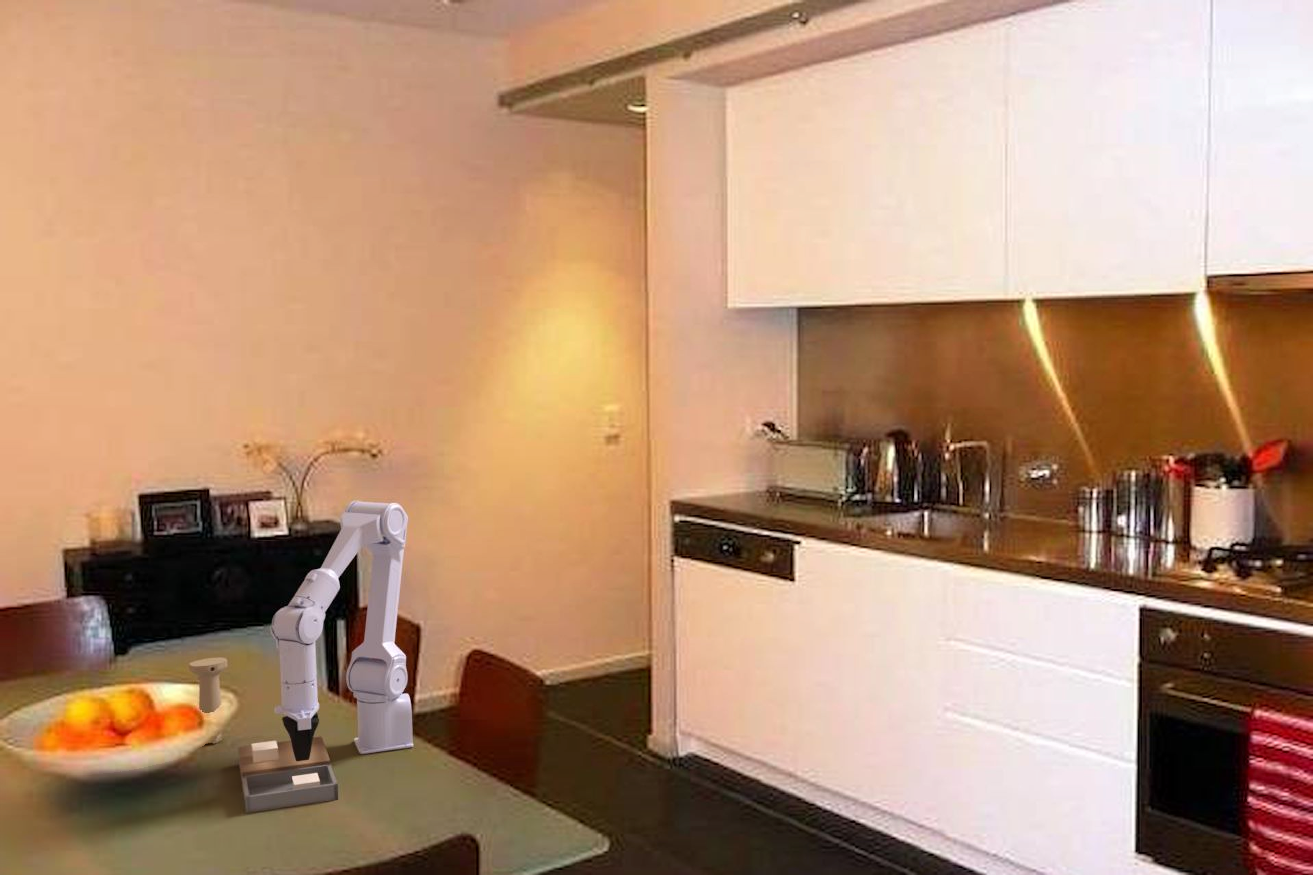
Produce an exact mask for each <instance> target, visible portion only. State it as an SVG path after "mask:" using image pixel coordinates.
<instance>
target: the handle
mask: <svg viewBox="0 0 1313 875" xmlns="http://www.w3.org/2000/svg"><path fill="white" fill-rule="evenodd" d="M188 665H189V666H188V667H189V671H190V672H191V673H193V674H195V675H197V676H198V680H199V682H198V684H199V689H198V690H199V692H198V694H199V695H198V696H199V697H198V698H199V700H198V710H199V709H200V710H202V712H204V713H210V712H214V711H215V710H216V709H217V708H219V706H220V705H221V703H222V696H221V686H220V673H221V672H223V671H224V670H225V669H226V668H227V667H228V659H227V658H226V657H209V658H203V659H199V660H194V661H192V662H189V664H188ZM222 731H223V730H222ZM222 731H221V732H220V733H219V734H218V736H217V738H215V740H213V743H214V742H215V743H216V744H217V743H220V742H221V741H222V738H223V734H222Z"/></svg>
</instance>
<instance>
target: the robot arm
mask: <svg viewBox="0 0 1313 875" xmlns="http://www.w3.org/2000/svg"><path fill="white" fill-rule="evenodd" d="M344 509H345V510H344V512H343V514H341V516H340V519H339V520H340V521H339V522H340V523H339V524H340V528H341V529H340V531H339V533H338V534H337V536H336V539H335V540H334V542H333V544H332V546H331V548H330V550H329V551H328V554H327V556H326V557H325V558H324V561H323V563H322V565H321V567H320V568H317V569H312V570H310V571H309V572H307V575H306V576H305V578H304V581H303V582H302V583H301V585H300V586H299V587H298V589H297V591H296V592H295V594H294V596H293V597H292V598H291V600H290V601H289V603H288V605H287V606H284V607H281V608H280V609H278V611H276V612H275V614H274V615H273V617H272V620H271V626H269V630H270V631H269V632H270V635H271V636H272V638H273V639H274V640H275V645H276V647H275V649H276V650H277V651H278V652H279V667H280V668H279V669H280V673H279V674H280V691H281V692H280V694H281V705H275V706H274V708H273V709H274V714H279V715H280V714H283V715H284V716H282V718H281V720H282V723H283V727H284V729H285V730H286V732H287V734H288V736H289V739H290V741H291V743H292V748H293V752H294V756H295V759H296V761H304V760H309V758H310V753H311V747H312V740H313V738H314V737H315V734H316V733H315V732H316V730H317V728H318V726H319V724H320V719H319V714H318V711H319V710H320V703H319V702H318V700H319V699H318V698H319V696H318V674H317V652H316V651H317V650H316V649H317V648H316V641H317V640H318V639H319V637H320V636H322V632H323V629H324V628H323V627H324V621H325V619H326V615H327V614H326V611H327V610H328V608H329V607H330V605H331V604H332V602H333V600H334V599H335V598H336V596H337V595H338V592H339V591H340V588H341V586H340V580H339V578H340V576H342V574H343V573H344V571H345V570H346V568H348V566H349V565H350V563H351V562H352V561H353V559H354V558H355V556H356V555H357V554H358V553H359V551H360V550H361V549H362V547H364V546H365V547H366V548H367V549H368V550H369V551H370V553H371V554H372V560H371V561H372V562H371V574H370V581H369V589H368V601H367V610H366V620H365V629H364V630H365V631H364V639H363V641H362V643H361V644H359V646H357V647H355V649H354V650H353V651H351V658H350V662H349V664H348V667H347V670H346V674H345V680H346V682H345V683H346V687H347V688H348V690H349V691H350V692H353V693H352V694H353V699H354V698H355V699H356V705H357V706H356V708H357V732H358V733H357V734H358V735H357V736H358V737H355V738H353V741H354V744H355V747H356V748H357V750H358V753H359V754H360V755H363V754H371V753H379V752H387V751H393V750H400V749H401V750H402V749H408V748H413V747H414V741H413V715H412V714H413V712H412V703H411V698H410V695H409V693H403V692H404V691H405V688H406V687H407V685H408V677H409V676H408V671H407V666H406V665H407V656H406V654H405V653H404V652H403V651H402V650H401V649H400V647H398V646H397V644H395V642H396V633H397V632H396V631H397V630H396V629H397V621H398V612H399V611H398V610H399V601H400V593H401V592H400V590H401V581H402V580H401V579H402V573H403V571H402V570H403V562H404V551H405V548H406V542H407V531H408V523H409V516H408V515H407V512H405V510H404V508H403V506H401V505H400V504H399V503H397V502H390V503H387V502H370V501H361V500H353V501H351V502H350V503H348V505H347V506H346V507H345V508H344Z"/></svg>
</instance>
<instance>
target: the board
mask: <svg viewBox="0 0 1313 875" xmlns="http://www.w3.org/2000/svg"><path fill="white" fill-rule="evenodd" d="M276 742H277V741H276ZM277 746H278V760H271V761H263V762H256V763H253V758H252V745H247V746H240V747H237V748H238V749H237V750H238V768H239V774H240V781H241V786H242V787H241V788H242V789H243V783H242V776H248V775H255V774H262V773H269V772H276V771H284V770H291V769H298V768H305V767H312V766H319V765H326V764H331V759H330V755H329V754H328V751H327V748H326V747H327V746H325V743H324V739H323V737H322V736H313V740H312V747H311V753H310V758H309V760H304V761H296V759H295V756H294V752H293V748H292V743H291V740H284V741H278V742H277Z"/></svg>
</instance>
